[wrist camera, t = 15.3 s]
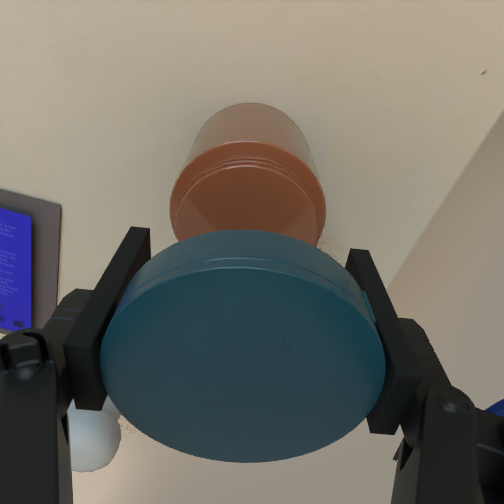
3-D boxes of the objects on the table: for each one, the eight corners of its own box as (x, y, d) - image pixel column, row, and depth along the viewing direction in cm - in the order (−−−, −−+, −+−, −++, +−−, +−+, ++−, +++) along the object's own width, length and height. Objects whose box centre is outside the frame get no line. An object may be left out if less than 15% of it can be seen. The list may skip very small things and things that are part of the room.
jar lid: (306, 176, 10) (315, 208, 8) (406, 372, 14) (425, 419, 12) (64, 297, 12) (35, 341, 11) (206, 437, 16) (200, 485, 15)
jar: (324, 192, 28) (351, 269, 20) (223, 230, 30) (209, 316, 22) (284, 81, 24) (296, 121, 16) (170, 133, 26) (130, 192, 18)
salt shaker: (97, 283, 33) (16, 425, 22) (167, 290, 33) (121, 434, 22) (103, 334, 36) (35, 481, 25) (167, 340, 36) (127, 488, 25)
